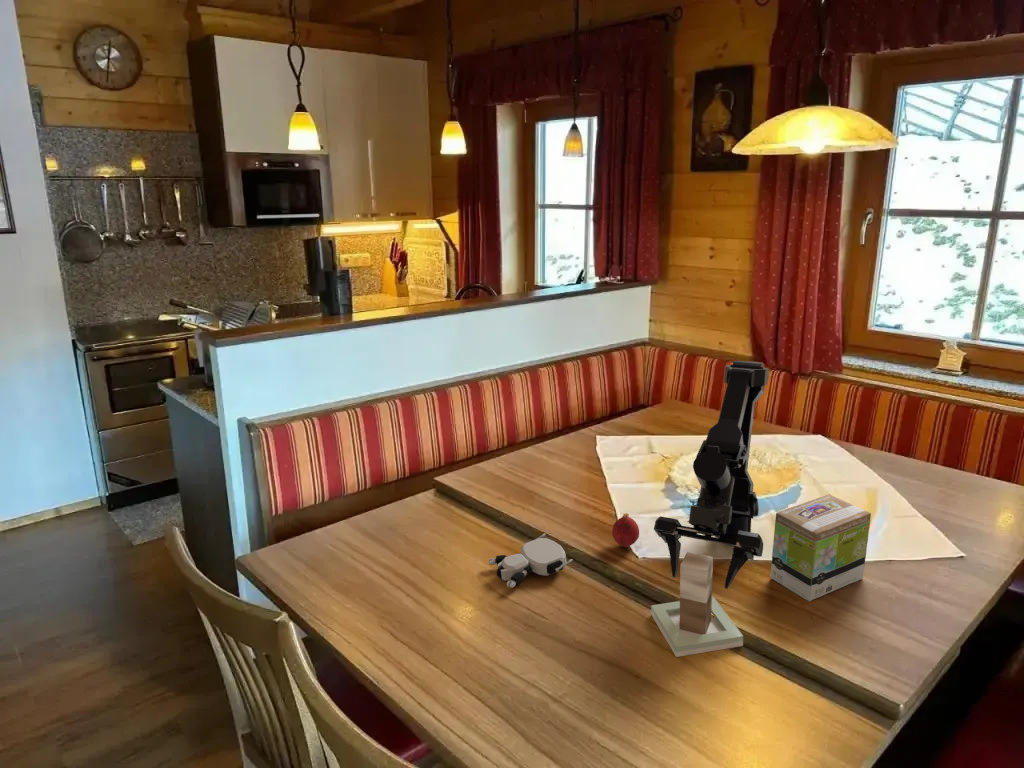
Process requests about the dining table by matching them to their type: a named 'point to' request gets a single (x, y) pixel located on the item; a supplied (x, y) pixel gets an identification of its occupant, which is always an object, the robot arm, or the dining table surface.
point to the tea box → (819, 546)
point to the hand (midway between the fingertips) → (699, 582)
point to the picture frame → (688, 643)
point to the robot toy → (531, 561)
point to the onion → (625, 531)
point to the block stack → (696, 592)
